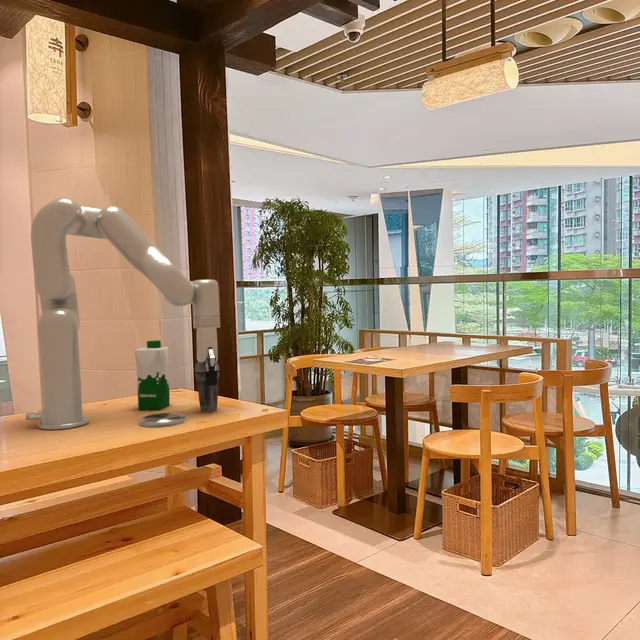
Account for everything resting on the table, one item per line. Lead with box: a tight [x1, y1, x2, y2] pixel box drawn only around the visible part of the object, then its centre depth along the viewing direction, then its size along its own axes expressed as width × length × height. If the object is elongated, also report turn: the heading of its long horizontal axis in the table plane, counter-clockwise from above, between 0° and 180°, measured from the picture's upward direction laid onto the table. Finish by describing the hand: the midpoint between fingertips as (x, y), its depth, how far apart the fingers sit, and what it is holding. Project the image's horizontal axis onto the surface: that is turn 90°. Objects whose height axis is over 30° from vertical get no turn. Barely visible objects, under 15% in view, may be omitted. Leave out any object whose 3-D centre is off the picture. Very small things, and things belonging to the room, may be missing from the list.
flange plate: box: [138, 412, 187, 428], centre depth 159 cm, size 12×12×1 cm
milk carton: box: [133, 339, 171, 411], centre depth 179 cm, size 9×9×20 cm
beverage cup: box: [194, 360, 221, 413], centre depth 171 cm, size 7×7×20 cm
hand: (209, 382), depth 172 cm, fingers open, 8 cm apart
